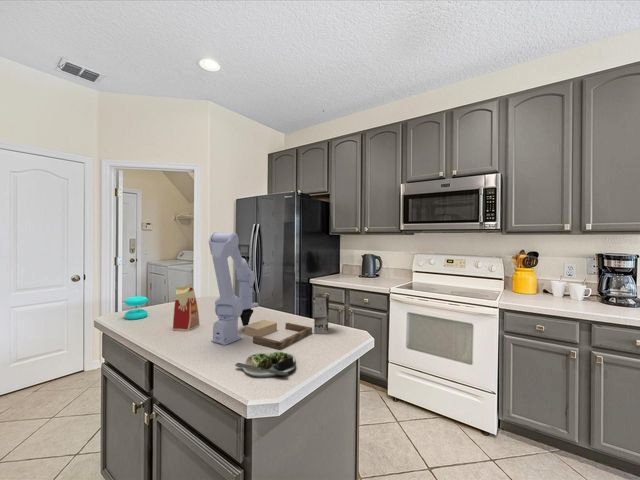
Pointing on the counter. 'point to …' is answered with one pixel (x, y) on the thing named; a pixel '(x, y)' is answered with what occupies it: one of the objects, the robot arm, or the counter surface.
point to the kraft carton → (260, 328)
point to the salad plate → (269, 364)
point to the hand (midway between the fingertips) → (245, 325)
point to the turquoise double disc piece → (136, 312)
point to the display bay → (279, 345)
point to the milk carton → (185, 309)
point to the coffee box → (321, 313)
